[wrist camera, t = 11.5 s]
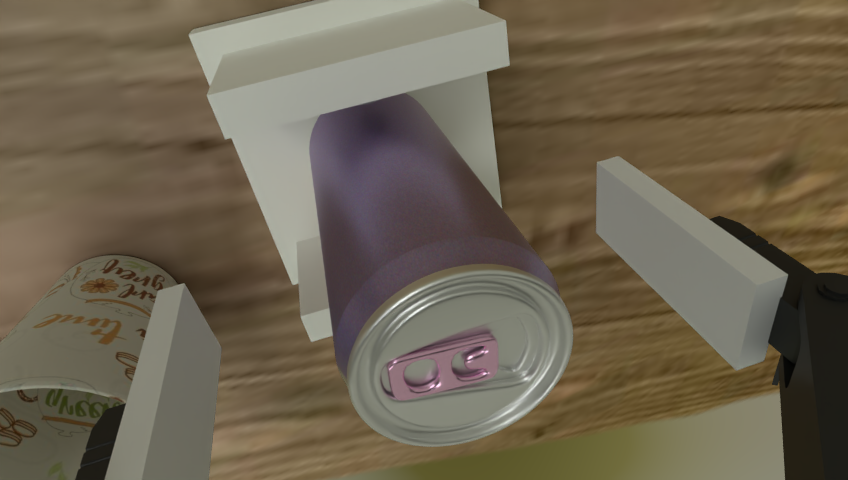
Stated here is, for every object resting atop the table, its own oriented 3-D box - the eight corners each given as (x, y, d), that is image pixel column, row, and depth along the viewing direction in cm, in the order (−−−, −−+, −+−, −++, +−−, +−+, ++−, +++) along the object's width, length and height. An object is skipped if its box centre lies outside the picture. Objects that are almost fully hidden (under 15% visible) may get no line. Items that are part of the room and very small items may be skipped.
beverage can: (295, 93, 23) (314, 299, 10) (427, 72, 24) (590, 238, 11) (322, 211, 26) (362, 477, 14) (437, 188, 27) (574, 419, 14)
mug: (237, 323, 30) (221, 479, 22) (33, 411, 30) (-62, 601, 21) (147, 207, 25) (83, 349, 17) (-95, 310, 25) (-279, 504, 17)
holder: (292, 272, 29) (295, 364, 23) (192, 29, 22) (160, 71, 16) (496, 213, 30) (550, 287, 24) (465, -36, 23) (531, -20, 17)
